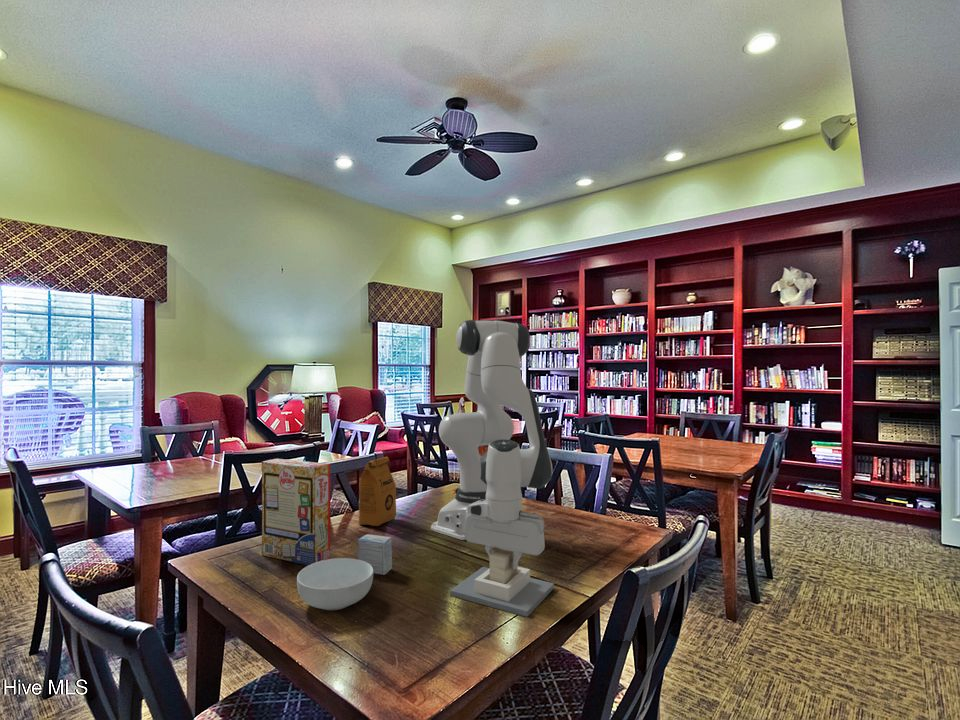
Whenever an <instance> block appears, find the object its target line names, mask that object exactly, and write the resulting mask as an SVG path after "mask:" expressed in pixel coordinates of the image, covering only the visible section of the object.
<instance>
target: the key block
mask: <svg viewBox="0 0 960 720" xmlns="http://www.w3.org/2000/svg"><path fill="white" fill-rule="evenodd" d="M515 557H516V556H515V555H514V551H511V550H506V549H501V548H497V549H496V550H495V551H494V552H493V553H492V554H491V555H490V557H489V568H490V581H494V582H498V583H502V584H505V583H507V582H508V581H509V580H510V579H511V578H512V577H514V576H515V575H516V574H517V569H511V568H510V561H511V560H512V559H514V558H515Z"/></svg>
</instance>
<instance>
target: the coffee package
mask: <svg viewBox="0 0 960 720" xmlns="http://www.w3.org/2000/svg"><path fill="white" fill-rule="evenodd" d="M389 458H390V457H388V456H384V457H380V458H377V459H373V460H370V461H367V464H366V465H365V468H364V469H363V470H364V471H363V472H362V474H361V476H360V480H359V486H358V487H359V488H358V490H359V491H358V513H359V514H358V524H359V525H360V526H372V527H379V526H380V525H383V524H386V523H388V522H390V521H392V520H394V519H395V518H396V517H397V487H396V482H395V479H394V477H393V474H392V472H391V471H390V468H389V464H388V462H390V459H389Z"/></svg>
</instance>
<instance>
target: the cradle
mask: <svg viewBox="0 0 960 720" xmlns="http://www.w3.org/2000/svg"><path fill="white" fill-rule="evenodd" d="M554 588H555V583H554V582H550V581H546V580H545V581H544V580H541V579H537V578H533V577H531V569H530V568H525V567H521V566H518V568H517V574H516V575H515V576H514V577H512V578H511V579H510V580H509V581H508V582H507V583H505V584H502V583H498V582H494V581H490V567H486V566H482V567H480V568H479V569H478V570H476V571H475V572H473V573H472V574H470V576H467V577H466V578H465V579H464V580H463V581H461V582H459V583H458V584H457V585H455V586H454V587H452V588H451V589H450V590H449V596H451V597H455V598H458V599H461V600H465V601H469V602H472V603H475V604H479V605H483V606H487V607H490V608H494V609H496V610H497V609H498V610H501V611H504V612H508V613H511V614H514V615H519V616H522V617H525V618H527V617H528V616H530V615H531V614H532V612H533V611H534V610H535V609H536V608H538V606H539V605H540V604H541V603H542V601H543V600H544V599H545V598H546V597H548V595H549V594H551V592H552V591H553V590H554Z"/></svg>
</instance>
